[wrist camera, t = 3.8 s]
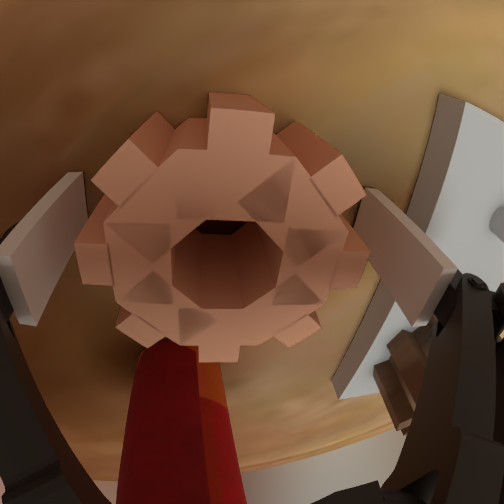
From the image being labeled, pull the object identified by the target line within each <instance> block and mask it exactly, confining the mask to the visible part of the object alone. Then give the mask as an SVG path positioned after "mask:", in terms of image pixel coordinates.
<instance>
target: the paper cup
mask: <svg viewBox="0 0 504 504" xmlns="http://www.w3.org/2000/svg"><path fill="white" fill-rule="evenodd" d="M116 504H247V502H246V497H245V493H244V489H243V484H242V479H241V474H240V469H239V464H238V459H237V454H236V449H235V444H234V439H233V434H232V429H231V424H230V418H229V413H228V407H227V402H226V397H225V391H224V386H223V380H222V375H221V370H220V366H219V362H199V351H198V346H185V345H178V344H177V343H175V342H174V341H172V340H163V341H159V342H156V343H155V344H153V345H152V346H150V347H149V348H145V349H144V350H143V351H142V352H141V354H140V356H139V359H138V363H137V367H136V372H135V376H134V381H133V386H132V392H131V397H130V403H129V409H128V415H127V422H126V428H125V435H124V442H123V449H122V456H121V463H120V471H119V479H118V487H117V499H116Z"/></svg>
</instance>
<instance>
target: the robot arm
mask: <svg viewBox="0 0 504 504" xmlns="http://www.w3.org/2000/svg"><path fill="white" fill-rule="evenodd" d="M364 191H365V193H366V196H365V197H363V198H362V201H361V204H360V208H359V211H358V215H357V218H356V221H355V225H354V228H353V229H354V231H355V232H356V233H357V234H358V236H359V237H360V238H361V240H362V241H363V242H364V244H365V245H366V246H367V248H368V249H369V250H370V255H369V258H368V260H369V262H370V263H371V265H372V266H373V268H374V269H375V271H376V272H377V274H378V275H379V276H380V278H381V279H382V281H383V282H384V284H385V285H386V287H387V289H388V290H389V292H390V293H391V295H392V296H393V298H394V299H395V301H396V302H397V304H398V306H399V307H400V309H401V310H402V312H403V313H404V315H405V317H406V318H407V320H408V322H409V323H410V325H411V326H412V327H418V326H426V325H427V323H428V322H429V320H430V318H431V317H432V315H433V313H434V315H435V316H436V318H437V319H438V320H437V321H436V323H435V325H434V326H433V328H432V329H431V331H430V332H429V334H428V336H427V337H426V339H425V341H426V342H427V341H428V339H430V338H431V342H430V348H429V353H428V358H427V362H426V367H425V372H424V376H423V380H422V384H421V388H420V392H419V396H418V400H417V403H416V407H415V410H414V414H413V417H412V421H411V424H410V427H409V430H408V433H407V436H406V439H405V442H404V445H403V448H402V451H401V454H400V457H399V459H398V462H397V465H396V467H395V469H394V471H393V472H392V474H391V475H390V476H389V478H388V479H387V480H386V481H385V482H384V484H383V486H382V487H381V488H380V486H379V483H378V481H374V482H370V483H367V484H364V485H360V486H356V487H353V488H349V489H345V490H341V491H337V492H334V493H333V494H331V495H328V496H326V497H324V498H322V499H320V500H318V501H316V502H314V503H311V504H504V338H503V339H502V340H501V341H500V342H499V339H498V337H499V335H500V334H501V333H502V331H503V330H504V283H500V285H499V287H498V289H497V290H496V292H493V291H489V288H488V286H487V284H486V283H485V282H484V281H483V280H482V279H481V278H479V277H478V276H476V275H473V274H471V273H465V274H462V273H461V272H460V271H459V270H458V268H457V267H456V266H455V265H454V263H453V262H452V261H451V260H450V259H449V258H448V257H447V256H446V255H445V254H444V253H443V252H442V251H441V249H440V248H439V247H438V246H437V245H436V244H435V243H434V242H433V241H432V240H431V239H430V238H429V237H428V236H427V235H426V234H425V233H424V232H423V231H422V230H421V229H420V228H419V227H418V226H417V225H416V224H415V223H414V222H413V221H412V220H411V219H410V218H409V217H408V216H407V215H406V214H405V213H403V212H402V211H401V210H400V209H399V208H398V207H397V206H396V205H395V204H394V203H393V202H392V201H391V200H390V199H388V198H387V197H386V196H385V195H384V194H383V193H382V192H381V191H380V190H378V189H373V188H366V187H365V190H364ZM87 220H88V215H87V207H86V199H85V189H84V179H83V172H68V173H67V174H66V175H65V176H64V177H63V178H61V179H60V180H59V181H58V182H57V183H56V184H55V185H54V186H53V187H52V188H51V189H50V190H49V191H48V192H47V193H46V194H45V195H44V196H43V197H42V198H41V199H40V200H39V201H38V202H37V204H36V205H35V206H34V207H33V208H32V209H31V210H30V211H29V212H28V213H27V214H26V215H25V216H24V218H23V219H22V220H21V221H20V222H18V223H16V224H15V225H13V226H12V227H10V228H9V229H8V230H7V231H6V232H5V234H4V235H3V236H2V238H0V477H1V478H2V481H3V483H4V486H5V493H4V494H3V495H2V503H3V504H111V502H110V501H109V500H108V499H107V498H106V497H105V496H104V495H103V494H102V492H101V491H100V490H99V489H98V487H97V486H96V485H95V483H94V482H93V481H92V479H91V478H90V476H89V475H88V474H87V472H86V471H85V469H84V468H83V466H82V465H81V463H80V462H79V460H78V459H77V457H76V456H75V454H74V453H73V451H72V450H71V448H70V446H69V445H68V443H67V441H66V440H65V438H64V436H63V435H62V433H61V431H60V430H59V428H58V426H57V424H56V423H55V421H54V419H53V417H52V415H51V413H50V412H49V410H48V408H47V406H46V404H45V402H44V400H43V398H42V396H41V394H40V392H39V390H38V388H37V386H36V383H35V381H34V379H33V377H32V375H31V372H30V370H29V368H28V365H27V363H26V361H25V358H24V356H23V353H22V351H21V348H20V345H19V343H18V340H17V337H16V335H15V332H14V329H13V326H12V324H11V322H10V320H9V318H10V316H11V314H12V312H13V311H14V313H15V316H16V318H17V320H18V322H19V324H25V325H32V326H37V325H38V322H39V320H40V318H41V316H42V313H43V311H44V309H45V307H46V305H47V303H48V301H49V298H50V296H51V294H52V292H53V290H54V288H55V286H56V284H57V282H58V280H59V278H60V276H61V274H62V273H63V271H64V269H65V267H66V265H67V263H68V261H69V259H70V258H71V256H72V254H73V252H74V250H75V247H74V242H75V240H76V239H77V237H78V235H79V233H80V232H81V230H82V228H83V227H84V225H85V224H86V222H87Z"/></svg>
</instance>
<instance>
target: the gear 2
mask: <svg viewBox="0 0 504 504" xmlns="http://www.w3.org/2000/svg"><path fill="white" fill-rule="evenodd" d="M437 320H438V319H437V318H436V316H435V315H434V313H433V315H432V317H431V318H430V320H429V322H428V323H427V325H426V326H420V327H418V328H417V329H415V330H414V331H413V332H409V331H406V330H403V329H402V330H401V331H400V332H399V333H398V334H397V335H396V336H395V337H394V338H393V339H392V340H391V341H390V342H389V343H388V344H387V345H386V346H387V348H388V350H389V352H390V354H391V356H390V358H389V360H386V361H384V362H381V363H379V364H376V365H374V369H373V377H374V380H375V382H376V384H377V386H378V389H379V391H380V393H381V396H382V398H383V400H384V403H385V405H386V407H387V410H388V412H389V414H390V417H391V419H392V422H393V424H394V426H395V429H396V431H399V430H401V431H402V433H403V435H407V433H408V430H409V427H410V424H411V421H412V417H413V414H414V410H415V407H416V403H417V400H418V396H419V392H420V388H421V384H422V380H423V376H424V372H425V367H426V362H427V358H428V353H429V348H430V342H431V338H430V339H428V341H427V342H426V341H425V339H426V337H427V336H428V334H429V332H430V331H431V329H432V328H433V326H434V325H435V323H436V321H437ZM498 339H499V342H500V341H501V340H502V339H501V337H500V336H499V337H498Z"/></svg>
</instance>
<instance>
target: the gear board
mask: <svg viewBox="0 0 504 504" xmlns="http://www.w3.org/2000/svg"><path fill="white" fill-rule="evenodd" d="M406 215H407V216H408V217H409V218H410V219H411V220H412V221H413V222H414V223H415V224H416V225H417V226H418V227H419V228H420V229H421V230H422V231H423V232H424V233H425V234H426V235H427V236H428V237H429V238H430V239H431V240H432V241H433V242H434V243H435V244H436V245H437V246H438V247H439V248H440V249H441V251H442V252H443V253H444V254H445V255H446V256H447V257H448V258H449V259H450V260H451V261H452V262H453V263H454V265H455V266H456V267H457V268H458V270H459V271H460V272H461V273H462V274H465V273H471V274H473V275H476V276H478V277H479V278H481V279H482V280H483V281H484V282H485V283H486V284H487V286H488V288H489V291H493V292H496V290H497V289H498V287H499V285H500V283H504V122H503V121H501V120H499V119H498V118H496V117H494V116H492V115H491V114H489V113H487V112H485V111H483V110H481V109H479V108H478V107H476V106H474V105H472V104H470V103H468V102H466V101H463V100H460V99H456V98H453V97H450V96H446V95H443V94H439V99H438V103H437V108H436V112H435V117H434V121H433V125H432V129H431V133H430V137H429V141H428V145H427V148H426V152H425V156H424V159H423V163H422V166H421V169H420V173H419V176H418V179H417V183H416V186H415V189H414V192H413V195H412V198H411V201H410V204H409V207H408V210H407V213H406ZM418 327H420V326H418ZM418 327H412V326H411V325H410V323H409V322H408V320H407V318H406V317H405V315H404V313H403V312H402V310H401V309H400V307H399V306H398V304H397V302H396V301H395V299H394V298H393V296H392V295H391V293H390V292H389V290H388V289H387V287H386V285H385V284H384V282H383V281H382V279H381V280H380V282H379V285H378V287H377V289H376V292H375V294H374V296H373V298H372V301H371V303H370V305H369V307H368V309H367V312H366V314H365V316H364V318H363V320H362V322H361V324H360V326H359V328H358V330H357V332H356V334H355V336H354V338H353V340H352V342H351V344H350V346H349V348H348V350H347V352H346V354H345V356H344V358H343V360H342V362H341V364H340V366H339V367H338V369H337V371H336V373H335V375H334V377H333V378H332V383H333V385H334V388H335V391H336V394H337V397H338V400H340V399H346V398H352V397H357V396H363V395H368V394H373V393H378V392H380V391H379V389H378V386H377V384H376V382H375V380H374V377H373V369H374V365H376V364H379V363H381V362H384V361H386V360H389V358H390V356H391V354H390V352H389V350H388V348H387V346H386V345H387V344H388V343H389V342H390V341H391V340H392V339H393V338H394V337H395V336H396V335H397V334H398V333H399V332H400V331H401V330H402V329H403V330H406V331H409V332H413V331H414V330H415V329H417V328H418Z"/></svg>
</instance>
